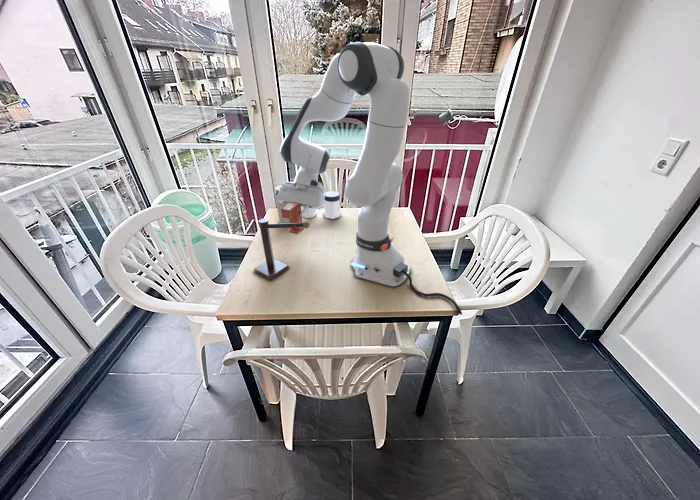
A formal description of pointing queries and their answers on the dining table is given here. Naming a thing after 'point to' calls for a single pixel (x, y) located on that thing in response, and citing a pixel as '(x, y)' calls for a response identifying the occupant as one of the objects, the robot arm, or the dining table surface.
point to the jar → (332, 204)
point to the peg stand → (271, 265)
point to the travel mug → (279, 207)
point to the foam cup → (309, 213)
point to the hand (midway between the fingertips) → (294, 215)
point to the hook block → (293, 216)
